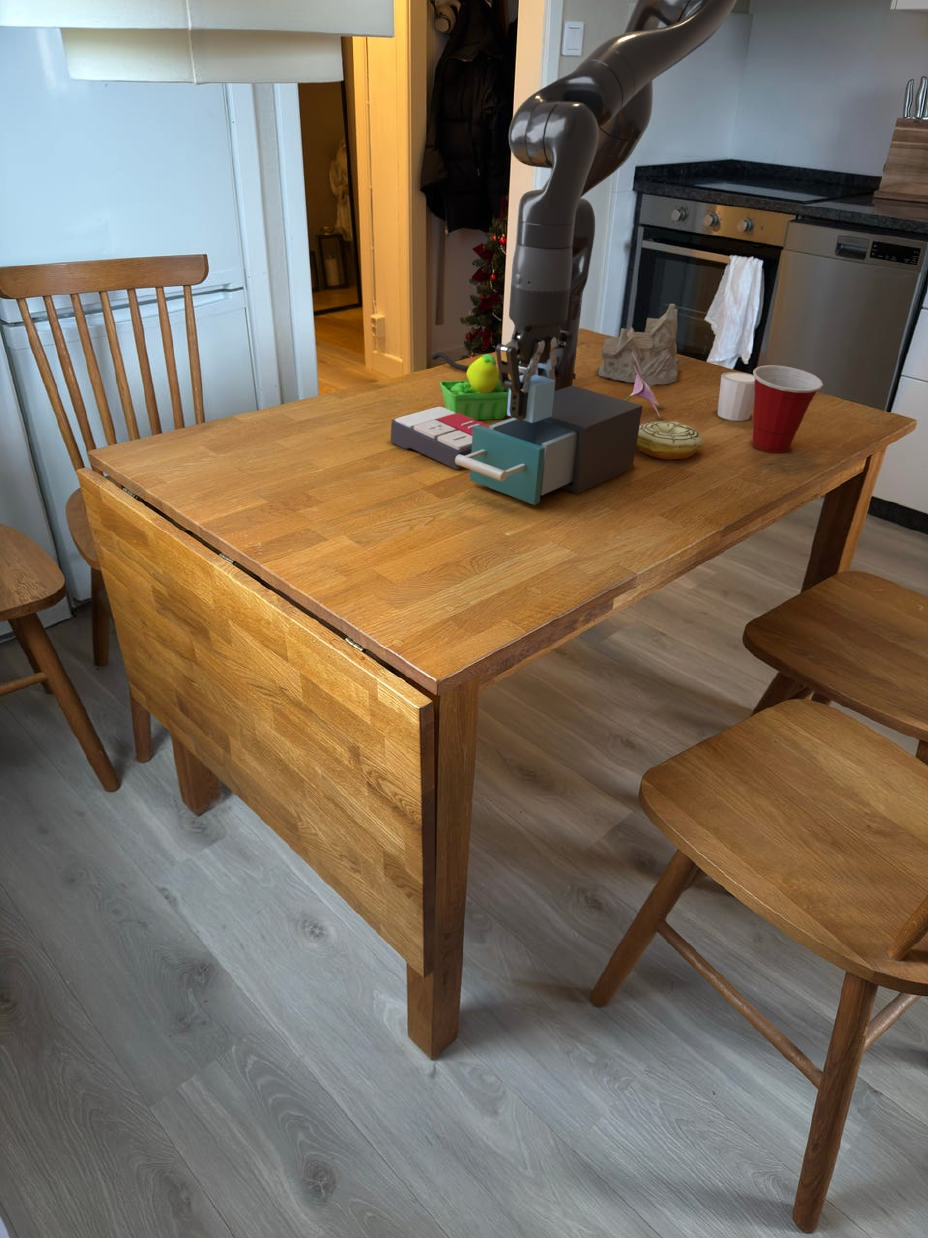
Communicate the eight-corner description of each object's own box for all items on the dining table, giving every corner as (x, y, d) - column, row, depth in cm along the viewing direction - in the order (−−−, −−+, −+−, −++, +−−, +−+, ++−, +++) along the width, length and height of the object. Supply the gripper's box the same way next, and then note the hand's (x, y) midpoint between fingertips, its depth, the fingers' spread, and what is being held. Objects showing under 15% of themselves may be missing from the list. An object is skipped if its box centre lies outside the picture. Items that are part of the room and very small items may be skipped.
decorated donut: (713, 453, 144) (717, 430, 142) (672, 467, 137) (676, 444, 136) (661, 434, 150) (665, 412, 148) (620, 447, 144) (623, 424, 142)
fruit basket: (498, 406, 159) (503, 342, 153) (516, 423, 152) (522, 356, 146) (437, 410, 156) (439, 344, 150) (452, 427, 148) (455, 359, 143)
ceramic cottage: (684, 367, 186) (692, 292, 178) (670, 391, 173) (678, 311, 165) (610, 361, 191) (615, 288, 183) (591, 384, 178) (595, 306, 170)
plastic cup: (766, 462, 142) (784, 387, 135) (724, 439, 150) (739, 367, 144) (819, 455, 145) (839, 382, 139) (775, 432, 154) (792, 363, 148)
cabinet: (577, 494, 127) (585, 427, 122) (507, 468, 134) (512, 404, 129) (633, 467, 137) (642, 405, 132) (565, 445, 144) (572, 385, 139)
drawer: (508, 516, 117) (513, 459, 113) (443, 490, 124) (445, 435, 119) (591, 478, 130) (598, 426, 126) (528, 456, 136) (533, 406, 132)
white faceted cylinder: (757, 422, 158) (765, 383, 154) (718, 420, 158) (726, 381, 154) (747, 410, 164) (755, 372, 160) (710, 408, 164) (717, 370, 160)
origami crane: (641, 434, 153) (676, 386, 149) (588, 394, 156) (621, 346, 152) (657, 435, 164) (690, 391, 160) (607, 398, 166) (638, 353, 163)
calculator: (459, 447, 130) (390, 415, 138) (457, 474, 133) (389, 441, 141) (509, 431, 137) (440, 401, 145) (506, 457, 140) (438, 426, 148)
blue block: (506, 415, 122) (509, 378, 119) (526, 408, 125) (529, 372, 122) (532, 423, 119) (535, 386, 117) (551, 416, 122) (555, 380, 120)
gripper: (529, 294, 106) (518, 433, 115) (597, 280, 116) (582, 409, 124) (481, 284, 110) (474, 418, 119) (550, 271, 120) (539, 397, 129)
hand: (529, 413), depth 122 cm, fingers closed on blue block, 4 cm apart
